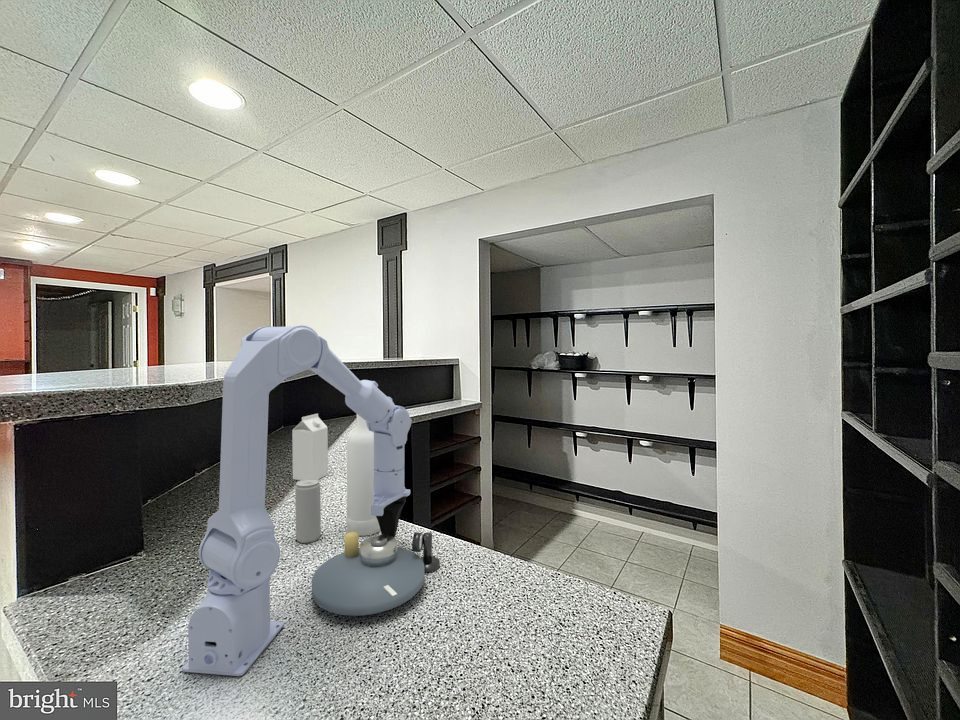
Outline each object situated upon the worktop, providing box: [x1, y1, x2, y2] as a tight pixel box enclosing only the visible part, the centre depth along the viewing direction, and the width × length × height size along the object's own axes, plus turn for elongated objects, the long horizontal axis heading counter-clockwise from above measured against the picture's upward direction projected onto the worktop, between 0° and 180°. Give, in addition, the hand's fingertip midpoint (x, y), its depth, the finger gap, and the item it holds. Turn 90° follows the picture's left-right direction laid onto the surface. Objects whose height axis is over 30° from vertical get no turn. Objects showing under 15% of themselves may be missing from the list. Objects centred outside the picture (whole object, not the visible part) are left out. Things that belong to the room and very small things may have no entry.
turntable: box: [311, 532, 425, 617], centre depth 69 cm, size 18×18×5 cm
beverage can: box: [294, 479, 322, 544], centre depth 87 cm, size 5×5×12 cm
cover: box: [359, 534, 398, 567], centre depth 74 cm, size 6×6×3 cm
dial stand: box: [411, 531, 441, 573], centre depth 76 cm, size 5×4×7 cm
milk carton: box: [291, 413, 329, 481], centre depth 126 cm, size 7×7×19 cm
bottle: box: [345, 413, 381, 537], centre depth 91 cm, size 8×8×30 cm
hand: (389, 537), depth 80 cm, fingers closed
